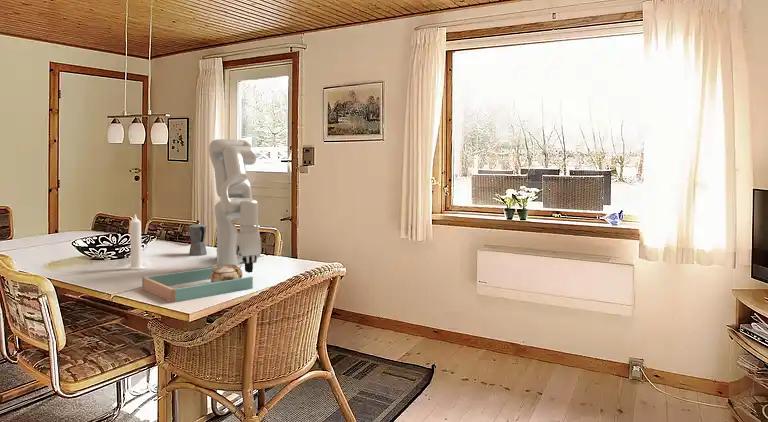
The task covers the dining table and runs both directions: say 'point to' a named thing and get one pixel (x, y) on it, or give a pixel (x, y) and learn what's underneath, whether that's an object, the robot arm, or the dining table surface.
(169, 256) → the dining table surface
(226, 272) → the trinket box
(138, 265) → the candle
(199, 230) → the coffeepot
